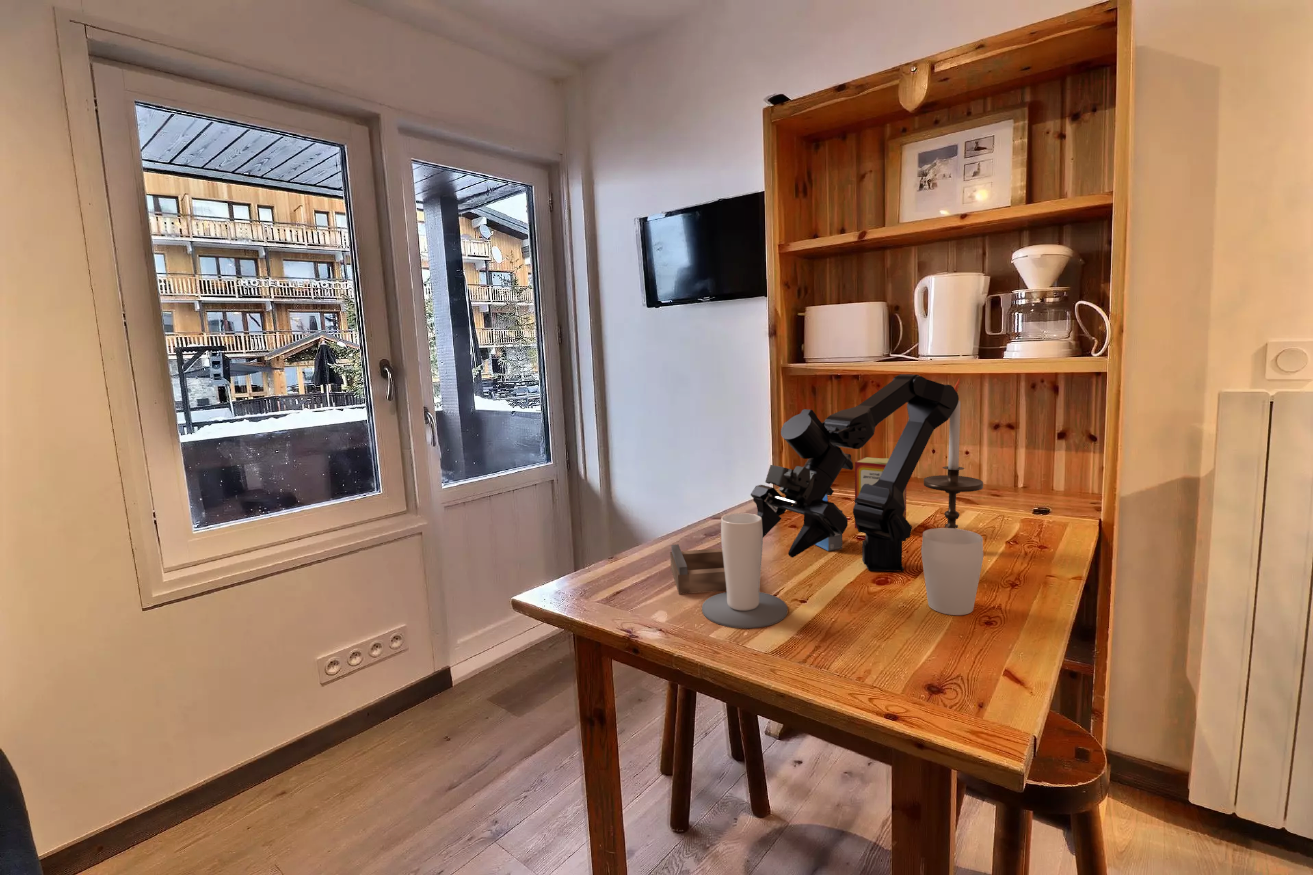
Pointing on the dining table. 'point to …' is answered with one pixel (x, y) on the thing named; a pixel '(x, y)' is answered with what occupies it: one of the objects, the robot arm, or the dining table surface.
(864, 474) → the baking soda box
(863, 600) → the dining table surface
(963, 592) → the cup
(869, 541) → the robot arm
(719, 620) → the slate mat
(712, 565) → the wooden holder tray
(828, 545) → the blue hang tab box
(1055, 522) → the dining table surface
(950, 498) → the candlestick
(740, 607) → the drinking glass
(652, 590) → the dining table surface
